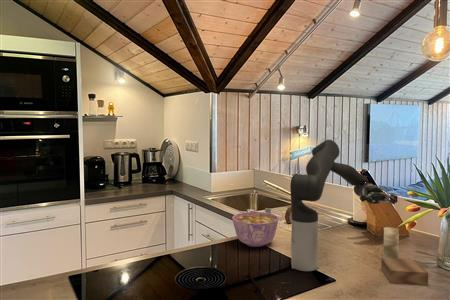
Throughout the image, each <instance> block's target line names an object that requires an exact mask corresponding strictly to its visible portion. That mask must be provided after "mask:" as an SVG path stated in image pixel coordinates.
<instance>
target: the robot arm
mask: <svg viewBox="0 0 450 300" xmlns="http://www.w3.org/2000/svg"><path fill="white" fill-rule="evenodd" d="M311 154H312V157H310V159H309V160H308V162H307V165H306V167H305V173H306V174H301V173H299V174H298V173H296V174H294V175H292V177H291V179H290V185H289V186H290V187H289V189H290V190H289V191H290V207H291V214H292V223H291V238H290V239H291V240H290V241H291V242H290V243H291V244H290V246H291V247H290V248H291V249H290V252H291V257H290V258H291V259H290V260H291V261H290V263H291V269H292V270H293V269H294V270H297V271H302V272H312V271H316V270H317V269H318V267H319V266H318V265H319V260H318V259H319V258H318V257H319V251H318V250H319V239H318V238H319V213H318V211H317V210H316V209H313V208H310V207H308V206H307V205H306V204H304V202H303V201H305V202H317V201H319V200H320V199H321V197H322V195H323V192H324V188H325V184H326V181H327V178H328V176H329V174H330V173H331V172H333V173H334V174H336V175H338V176H340V177H341V178H342V179H343V180H344V181H345V182H346V183H348V184H350V185H351V186H354V187H353V192H354V194H355V195H357V196H358V197H359V200H360V201H361V202H362V203H363V202H366V203H369V204H370V205H372V204H379V203H390V204H392V205H395V204H397V203H398V197H399V196H397V195H396V194H394V193H389V194H388V193H384V191H383V189H382V188H380V187H379V186H377V185H376V184H375V185H373V184H372V183H368V179H367V178H366V177H365V176H366V175H364V176H363V174H362V173H360V172H359V171H358V170H357V169H355V167H353V166H351V165H349V164H346V163H341V162H335V161H336V160H337V159H338V157H339V156H340V147H339V145H338V143H336V142H335V141H334V140H332V139H326V140H324V141H322V142H320V143H319V144H318V145H316V146H315V147H314V148H312V150H311ZM361 181H364V182H366V183H364V184H363V185H362V186H361V187H359V186H358V184H360V183H361Z"/></svg>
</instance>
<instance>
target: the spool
mask: <svg viewBox="0 0 450 300" xmlns="http://www.w3.org/2000/svg"><path fill="white" fill-rule="evenodd" d="M399 231H400V230H399V228H397V227H391V226H387V227H384V228H383V257H382V258H394V259H399V245H400V244H399V240H400V238H399V237H400V232H399Z"/></svg>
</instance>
